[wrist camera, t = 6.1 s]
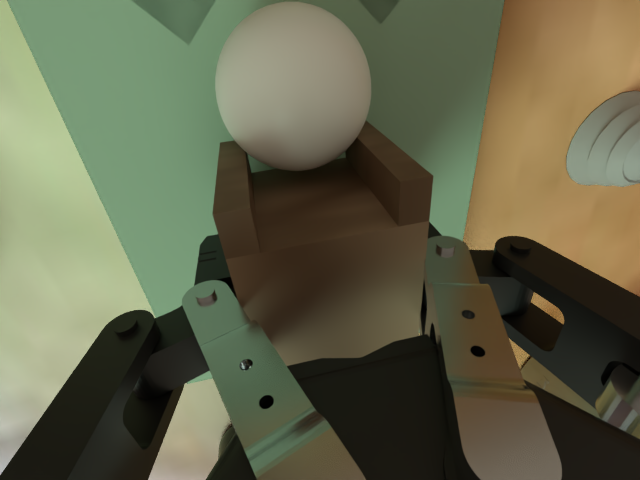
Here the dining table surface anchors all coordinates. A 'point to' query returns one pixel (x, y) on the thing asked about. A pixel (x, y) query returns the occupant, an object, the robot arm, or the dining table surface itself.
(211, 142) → the green
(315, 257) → the wooden channel cradle
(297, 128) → the ball
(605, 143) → the chalice
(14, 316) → the dining table surface
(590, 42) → the dining table surface
